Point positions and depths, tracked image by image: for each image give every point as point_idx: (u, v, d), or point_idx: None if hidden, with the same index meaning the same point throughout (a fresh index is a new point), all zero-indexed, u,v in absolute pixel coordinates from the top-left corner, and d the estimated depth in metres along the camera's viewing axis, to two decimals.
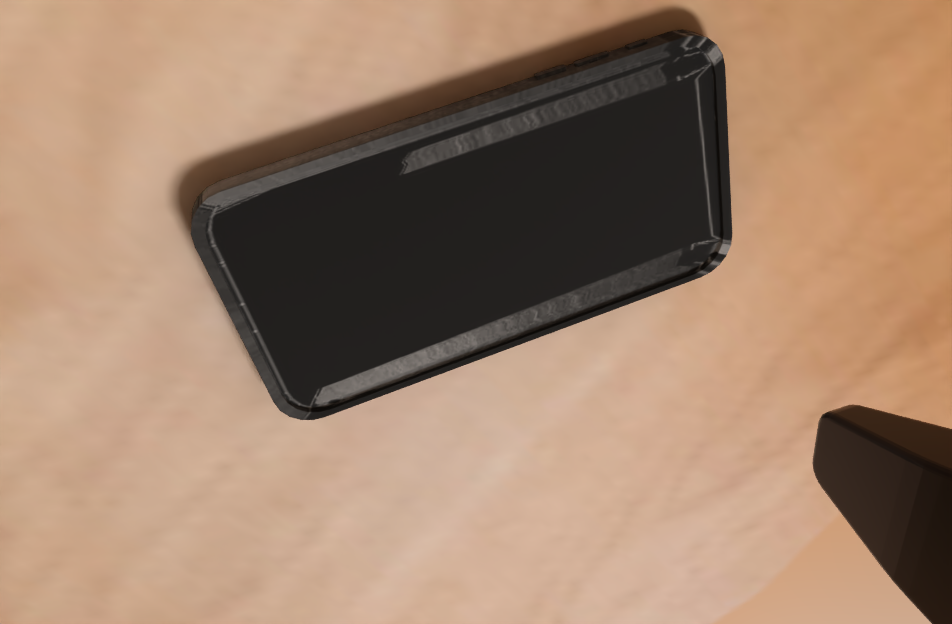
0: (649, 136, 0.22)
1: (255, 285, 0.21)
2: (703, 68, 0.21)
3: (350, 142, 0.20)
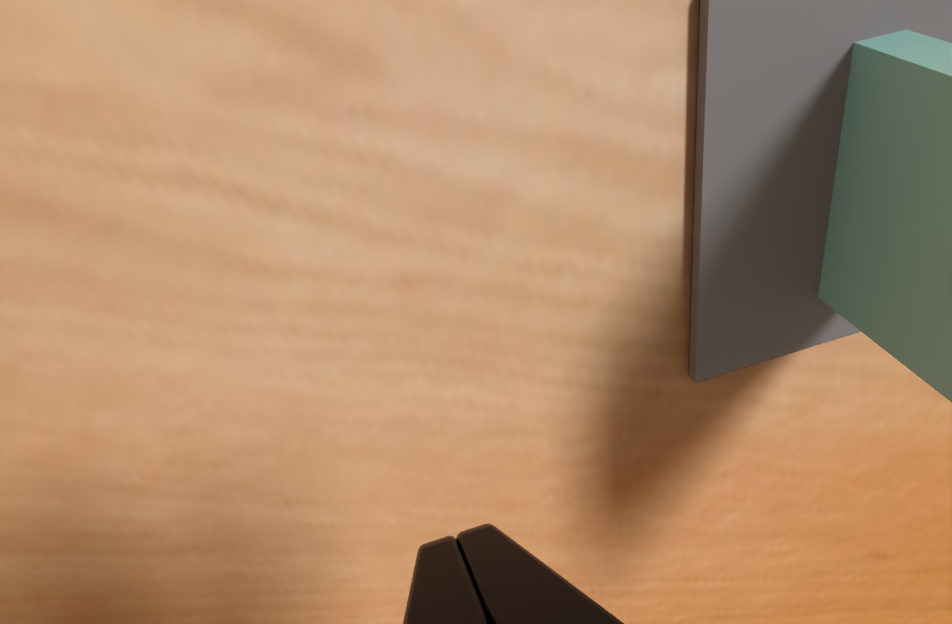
0: None
1: None
2: None
3: None
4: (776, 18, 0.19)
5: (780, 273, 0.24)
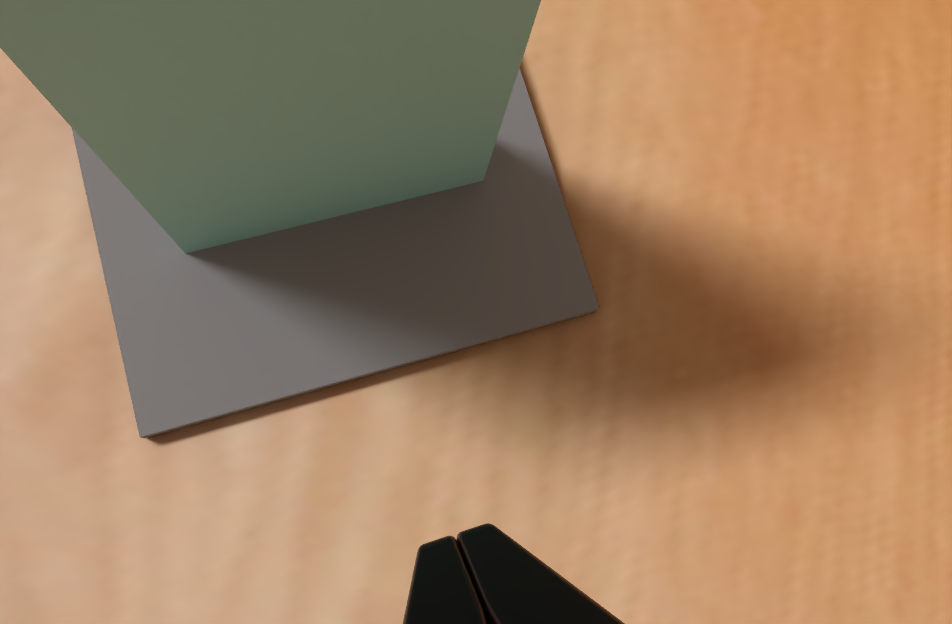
0: None
1: None
2: None
3: None
4: (162, 353, 0.19)
5: (451, 243, 0.21)
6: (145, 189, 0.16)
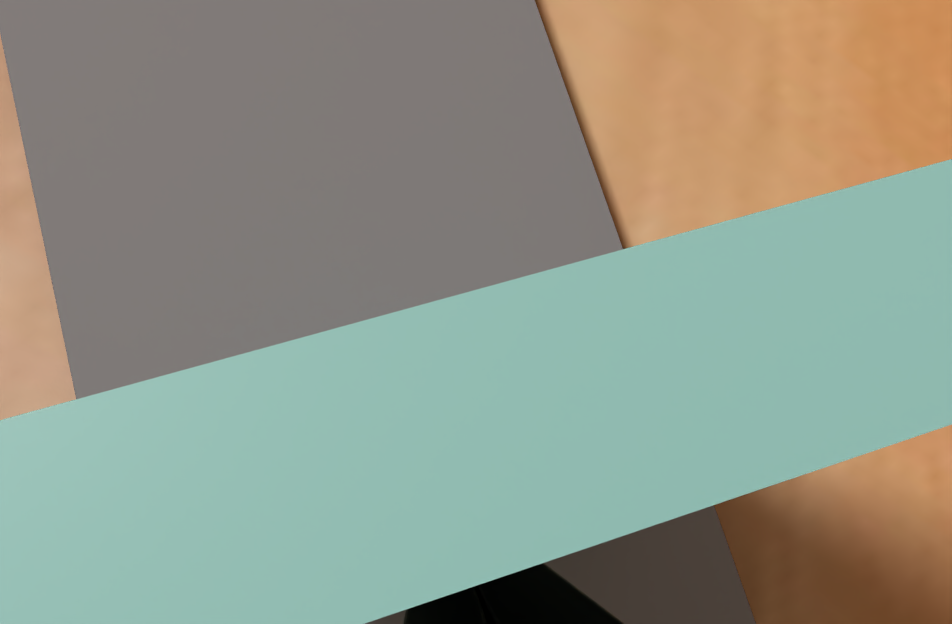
0: None
1: None
2: None
3: None
4: None
5: None
6: None
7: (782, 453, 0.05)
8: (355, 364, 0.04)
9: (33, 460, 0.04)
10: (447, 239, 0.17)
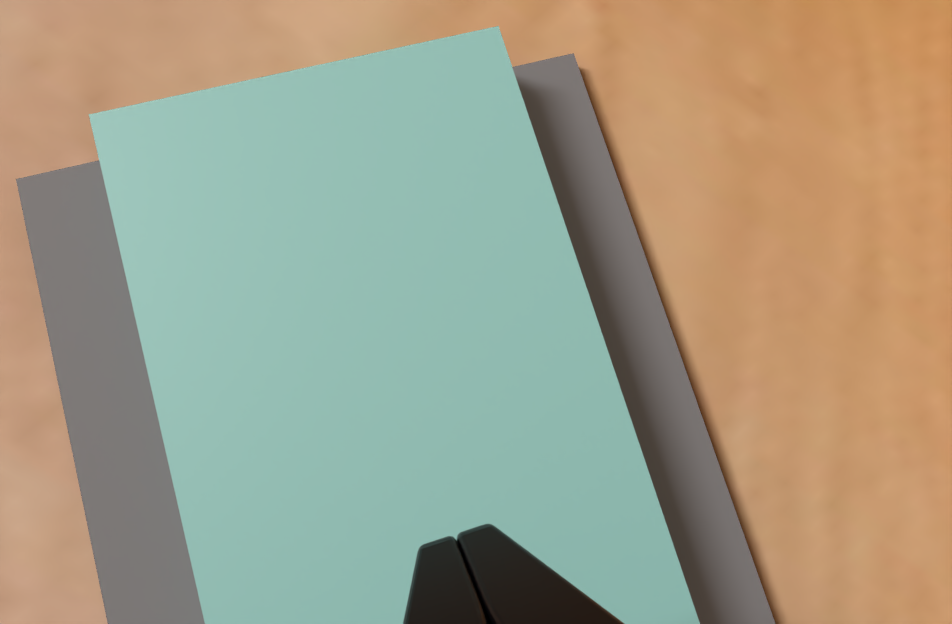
0: None
1: None
2: None
3: None
4: None
5: None
6: (199, 519, 0.13)
7: None
8: None
9: None
10: None
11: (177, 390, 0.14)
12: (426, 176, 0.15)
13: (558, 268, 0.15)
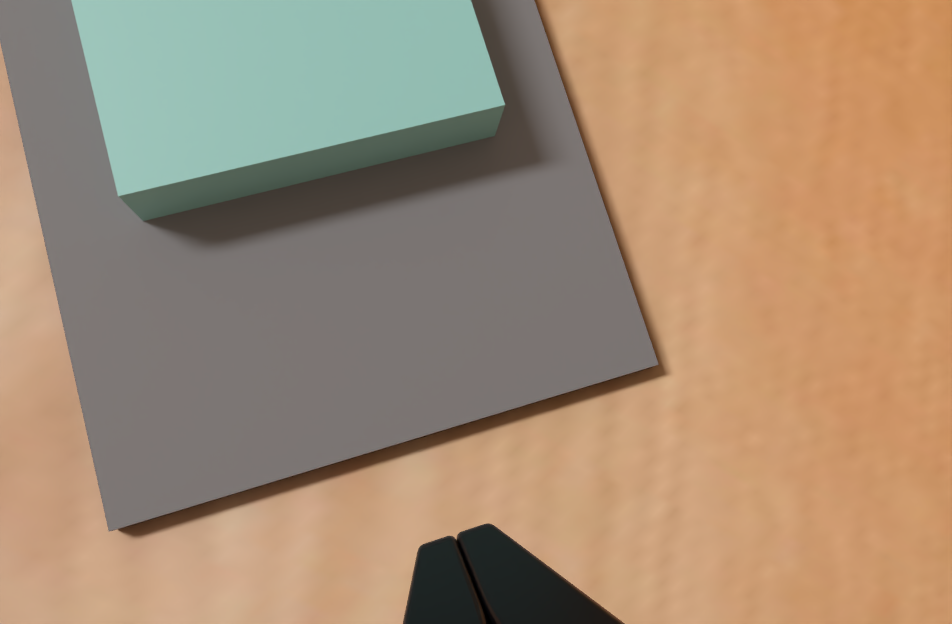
0: None
1: None
2: None
3: None
4: (136, 426, 0.16)
5: (482, 287, 0.17)
6: None
7: None
8: None
9: None
10: None
11: None
12: None
13: None
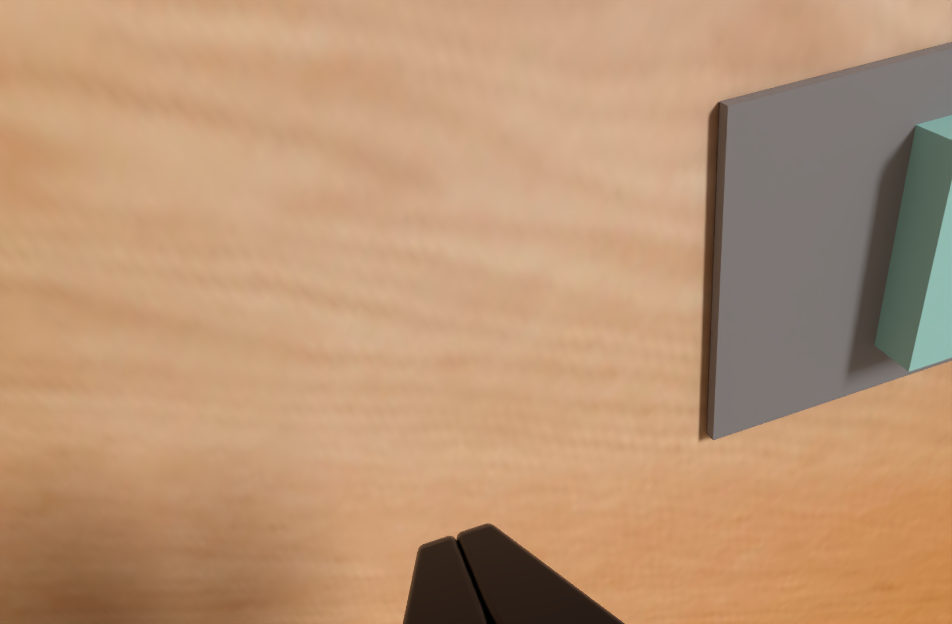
0: None
1: None
2: None
3: None
4: (788, 124, 0.21)
5: (791, 341, 0.26)
6: None
7: None
8: None
9: None
10: None
11: None
12: None
13: None
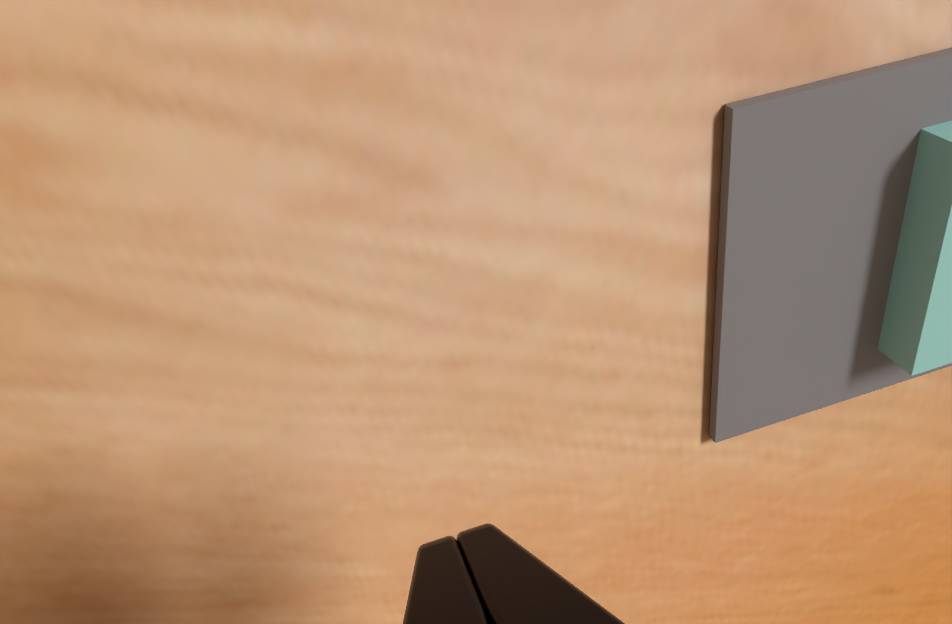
0: None
1: None
2: None
3: None
4: (793, 127, 0.21)
5: (794, 345, 0.26)
6: None
7: None
8: None
9: None
10: None
11: None
12: None
13: None
